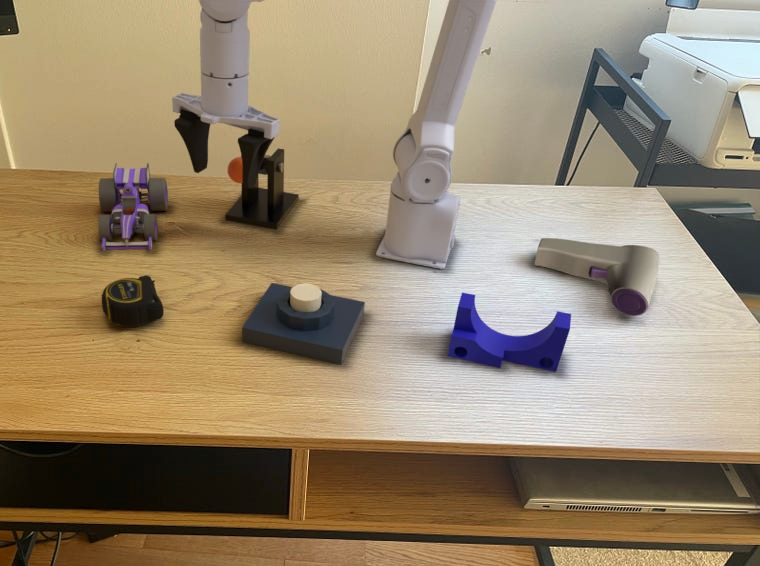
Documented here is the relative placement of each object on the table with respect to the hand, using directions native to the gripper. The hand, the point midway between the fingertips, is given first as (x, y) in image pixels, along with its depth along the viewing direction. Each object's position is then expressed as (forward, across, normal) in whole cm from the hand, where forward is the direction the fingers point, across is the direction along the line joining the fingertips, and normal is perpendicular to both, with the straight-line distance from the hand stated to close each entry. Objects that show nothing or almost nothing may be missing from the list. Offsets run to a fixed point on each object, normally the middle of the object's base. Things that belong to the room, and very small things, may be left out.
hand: (224, 177), depth 96 cm
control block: (+10, +19, -11) cm, 24 cm away
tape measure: (+11, 0, -19) cm, 22 cm away
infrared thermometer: (+9, +46, +16) cm, 50 cm away
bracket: (+10, -1, +12) cm, 16 cm away
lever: (+3, 0, +7) cm, 7 cm away
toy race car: (+11, -15, -2) cm, 18 cm away
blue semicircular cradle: (+9, +41, -4) cm, 42 cm away
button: (+6, +19, -11) cm, 22 cm away
